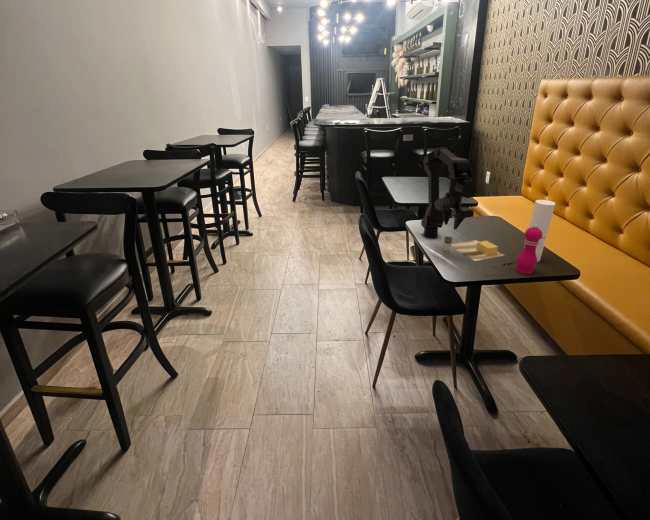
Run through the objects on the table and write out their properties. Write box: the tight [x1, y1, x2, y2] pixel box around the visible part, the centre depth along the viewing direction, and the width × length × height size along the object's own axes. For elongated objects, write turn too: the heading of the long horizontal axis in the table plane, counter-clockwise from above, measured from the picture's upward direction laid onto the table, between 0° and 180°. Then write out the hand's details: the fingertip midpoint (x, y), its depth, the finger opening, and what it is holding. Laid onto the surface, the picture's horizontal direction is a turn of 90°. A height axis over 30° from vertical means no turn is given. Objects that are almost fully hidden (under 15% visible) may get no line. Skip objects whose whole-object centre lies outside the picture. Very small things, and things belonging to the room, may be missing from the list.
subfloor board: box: [451, 239, 505, 262], centre depth 171 cm, size 18×16×2 cm
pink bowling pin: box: [515, 224, 542, 275], centre depth 152 cm, size 7×7×20 cm
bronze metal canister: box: [442, 235, 453, 254], centre depth 168 cm, size 3×3×8 cm
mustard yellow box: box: [476, 240, 499, 256], centre depth 168 cm, size 7×5×4 cm
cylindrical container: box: [523, 199, 556, 263], centre depth 162 cm, size 7×7×25 cm
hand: (450, 226), depth 164 cm, fingers open, 6 cm apart
